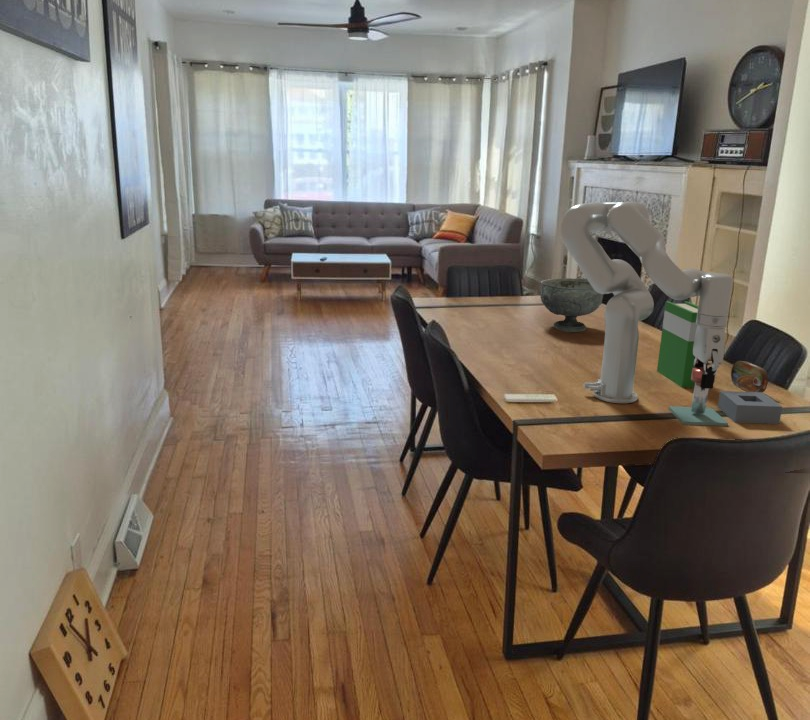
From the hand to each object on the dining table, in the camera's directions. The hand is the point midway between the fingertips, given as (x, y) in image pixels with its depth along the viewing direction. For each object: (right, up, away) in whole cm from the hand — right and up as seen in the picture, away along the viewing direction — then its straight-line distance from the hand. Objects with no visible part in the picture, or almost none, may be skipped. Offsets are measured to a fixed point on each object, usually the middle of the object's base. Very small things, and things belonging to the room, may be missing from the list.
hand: (702, 383), depth 192 cm
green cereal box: (+8, 0, +37) cm, 38 cm away
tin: (+26, -3, +28) cm, 38 cm away
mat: (0, -9, +3) cm, 10 cm away
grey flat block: (+15, -9, +5) cm, 18 cm away
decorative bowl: (-13, +20, +102) cm, 105 cm away
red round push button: (0, -8, +2) cm, 8 cm away
